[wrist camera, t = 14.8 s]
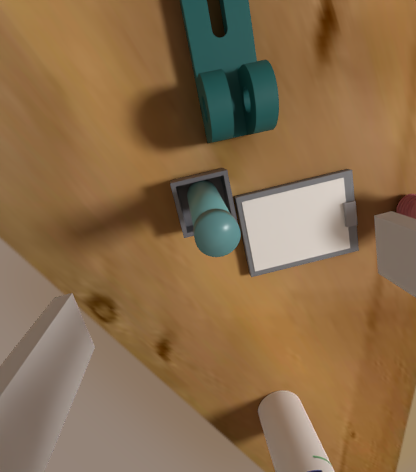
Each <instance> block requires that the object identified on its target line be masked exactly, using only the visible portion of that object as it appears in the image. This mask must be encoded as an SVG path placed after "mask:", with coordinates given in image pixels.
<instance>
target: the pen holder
mask: <svg viewBox="0 0 416 472" xmlns="http://www.w3.org/2000/svg"><path fill="white" fill-rule="evenodd" d="M202 180H207V181H209V182H211V183H212V184H213V185H214V186H215V187H216V189H217V191H218V192H219V194H220V196H221V198H222V199H223V201H224V203H225V205H226V207H227V208H228V210H229V212H230V214H231V215H232V216H233V217H234V218H235V220H236V222H237V217H236V212H235V207H234V202H233V197H232V192H231V187H230V182H229V177H228V172H227V170H226V169H224V168H220V169H215V170H211V171H207V172H203V173H199V174H194V175H190V176H186V177H182V178H178V179H173V180H171V181H170V185H171V189H172V193H173V197H174V201H175V205H176V208H177V212H178V216H179V220H180V224H181V228H182V232H183V235H184V238H186V237H190V236H194V232H193V228H194V227H193V222H192V218H191V213H190V208H189V204H188V199H187V192H188V189H189V186H190V184H191V183H193V182H198V181H202ZM237 224H238V222H237Z"/></svg>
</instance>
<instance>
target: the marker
mask: <svg viewBox="0 0 416 472" xmlns="http://www.w3.org/2000/svg"><path fill="white" fill-rule="evenodd" d="M187 199H188V204H189V208H190V213H191V218H192V222H193V227H194V228H193V232H194V237H195V242H196V245H197V247H198V248H199V250H200V251H201V252H203V253H204V254H206V255H208V256H212V257H221V256H224V255H227V254H229V253H230V252H232V251H233V250H234V249H235V248H236V247H237V245H238V243H239V241H240V237H241V232H240V228H239V225H238V224H237V222H236V220H235V218H234V217H233V216H232V215H231V214H230V212H229V210H228V208H227V207H226V205H225V203H224V201H223V199H222V198H221V196H220V194H219V192H218V191H217V189H216V187H215V186H214V185H213V184H212V183H211V182H209V181H207V180H202V181H198V182H193V183H191V184H190V186H189V189H188V192H187Z"/></svg>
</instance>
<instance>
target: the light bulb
mask: <svg viewBox="0 0 416 472" xmlns="http://www.w3.org/2000/svg"><path fill="white" fill-rule="evenodd" d="M397 213H399V214H402V215H405V216H408V217H411V218H414V219H416V194H408V195H406V196H404V197H403V198H402V199H401V200H400V202H399V203H398V206H397Z"/></svg>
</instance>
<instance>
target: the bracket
mask: <svg viewBox="0 0 416 472" xmlns="http://www.w3.org/2000/svg"><path fill="white" fill-rule="evenodd" d="M219 2H220V8H221V14H222V20H223V26H224V32H225V36H224V37H221V38H218V37H216V36H215V35H214V34H213V32H212V28H211V22H210V16H209V11H208V5H207V0H180V5H181V10H182V15H183V20H184V25H185V30H186V35H187V41H188V46H189V51H190V56H191V61H192V66H193V71H194V76H195V81H196V87H197V92H198V97H199V102H200V107H201V112H202V117H203V122H204V127H205V133H206V138H207V143H212V142H217V141H221V140H226V139H231V138H234V137H239V136H244V135H248V134H254V133H259V132H263V131H268V130H273V129H274V128H275V126H276V124H277V120H278V113H279V98H278V88H277V83H276V78H275V74H274V71H273V69H272V66H271V64H270V63H269V62H268V61H267V60H262V61H257V59H256V52H255V45H254V37H253V30H252V23H251V16H250V9H249V2H248V0H219Z"/></svg>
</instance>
